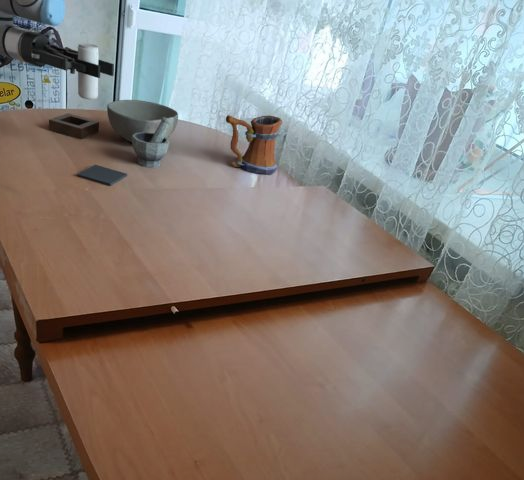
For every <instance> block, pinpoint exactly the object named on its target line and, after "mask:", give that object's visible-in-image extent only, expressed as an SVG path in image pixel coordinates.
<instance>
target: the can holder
mask: <svg viewBox="0 0 524 480" xmlns="http://www.w3.org/2000/svg"><path fill="white" fill-rule="evenodd" d="M48 131H50V132H53V133H58V134H61V135H65V136H67V137H72V138H75V139H78V140H83V139H86V138H89V137H90V136H94V135H96V134H97V133H100V121H98V120H94V119H91V118H87V117H84V116H81V115H76V114H73V113H68V112H67V113H64V114H62V115H58V116H55V117H52V118H50V119H48Z"/></svg>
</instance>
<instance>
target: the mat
mask: <svg viewBox="0 0 524 480" xmlns="http://www.w3.org/2000/svg"><path fill="white" fill-rule="evenodd" d="M76 177H77V178H81V179H85V180H88V181H92V182H95V183H99V184H102V185H106V186H109V187H111V186H113V185H114V184H116V183H119V182H120V181H121V180H123V179H125V178H126V177H128V173H126V172H122V171H119V170H116V169H112V168H109V167H105V166H103V165H102V166H101V165H98V164H93V165H91V166H90V167H87V168H86V169H84V170H82V171H79V172H78V173H76Z"/></svg>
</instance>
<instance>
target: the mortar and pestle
mask: <svg viewBox="0 0 524 480" xmlns="http://www.w3.org/2000/svg"><path fill="white" fill-rule="evenodd" d="M170 124H171V121H170V120H169V119H167V118H165V117H162V118H161V122H160V124H159V126H158V128H157V130H156V131H155V133H147V132H140V133H135V134H134V135H133V136H132V142H131V143H132V144H131V145H132V149H133V151H134V153H135V154H136V155H137V163H138V164H139V166H143V167H145V168H154V169H155V168H160V166H161V164H162V161H161V160H162V159H163V158H164V157H165V156H166V154H167V152H168V151H169V146H170V139H169V138H166V137H165V134H166V131H167V129H168V126H169V125H170Z"/></svg>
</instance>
